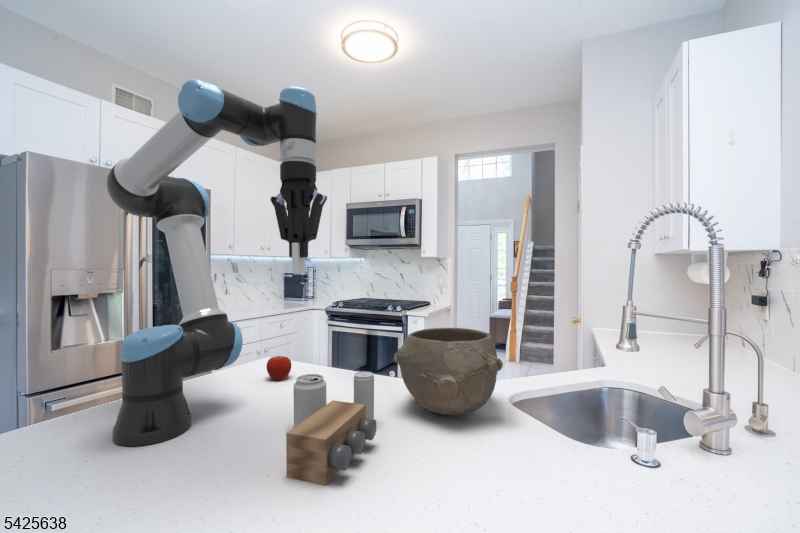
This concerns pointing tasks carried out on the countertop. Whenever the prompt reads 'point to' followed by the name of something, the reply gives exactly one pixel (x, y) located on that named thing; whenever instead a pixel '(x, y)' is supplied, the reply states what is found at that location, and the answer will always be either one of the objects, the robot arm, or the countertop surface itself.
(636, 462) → the countertop surface
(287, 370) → the apple
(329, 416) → the block
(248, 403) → the countertop surface
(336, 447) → the knob
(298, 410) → the can
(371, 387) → the beverage can
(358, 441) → the knob
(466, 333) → the bowl
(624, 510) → the countertop surface
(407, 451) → the countertop surface
